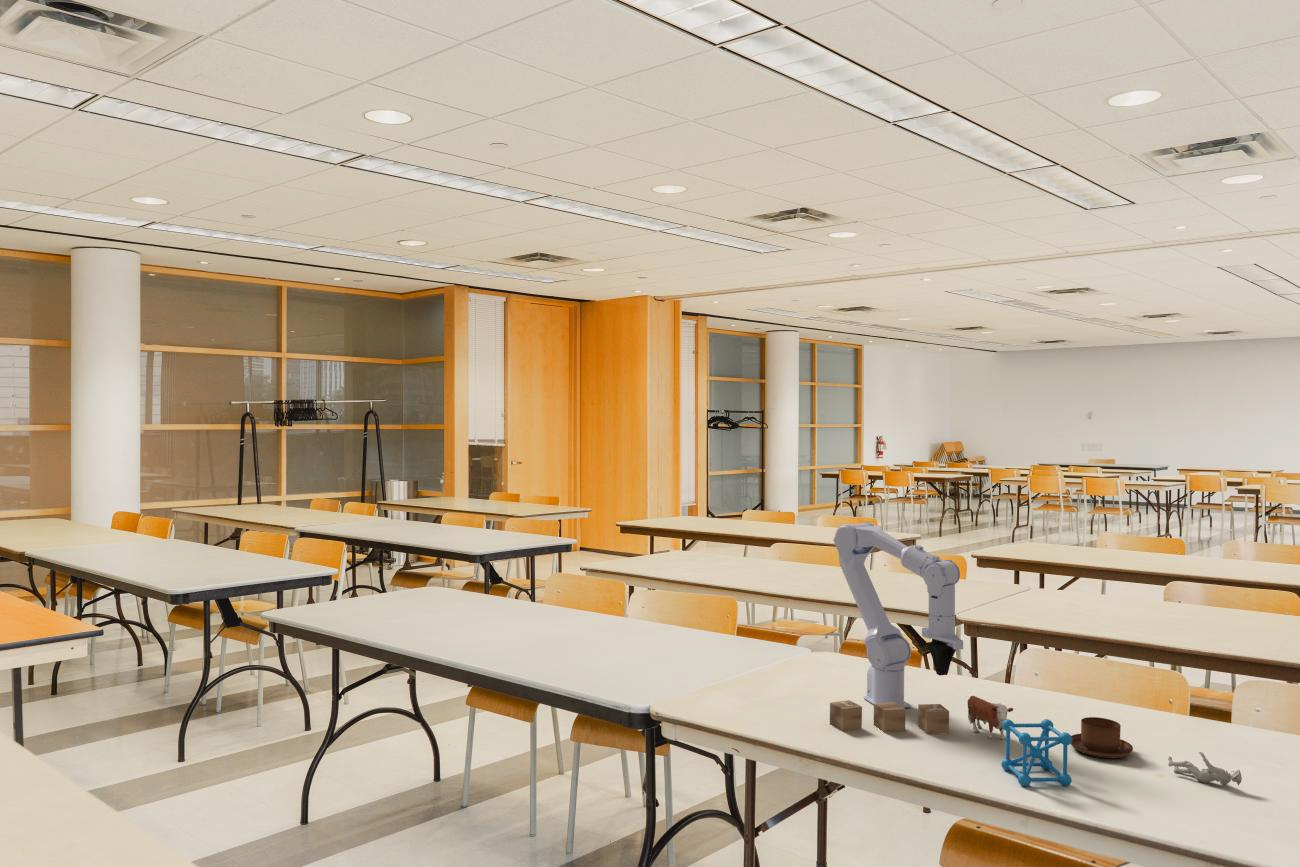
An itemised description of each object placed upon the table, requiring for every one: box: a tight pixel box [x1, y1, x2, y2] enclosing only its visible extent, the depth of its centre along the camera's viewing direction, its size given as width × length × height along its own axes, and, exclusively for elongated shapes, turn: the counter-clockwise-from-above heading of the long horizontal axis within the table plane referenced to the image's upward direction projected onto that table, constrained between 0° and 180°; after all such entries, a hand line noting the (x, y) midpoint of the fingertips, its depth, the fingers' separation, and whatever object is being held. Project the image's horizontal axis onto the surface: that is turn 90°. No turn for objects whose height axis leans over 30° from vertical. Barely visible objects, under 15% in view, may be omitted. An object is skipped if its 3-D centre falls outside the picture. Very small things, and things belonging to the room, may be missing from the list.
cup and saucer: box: [1070, 716, 1134, 759], centre depth 196 cm, size 12×12×6 cm
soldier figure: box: [1167, 751, 1243, 787], centre depth 180 cm, size 8×5×12 cm
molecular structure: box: [1000, 718, 1073, 787], centre depth 181 cm, size 10×10×10 cm
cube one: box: [829, 699, 863, 732], centre depth 210 cm, size 5×5×5 cm
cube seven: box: [917, 703, 950, 735], centre depth 208 cm, size 5×5×5 cm
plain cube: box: [873, 702, 906, 734], centre depth 209 cm, size 5×5×5 cm
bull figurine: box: [967, 695, 1014, 741], centre depth 205 cm, size 4×13×8 cm, turn 16°
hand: (941, 674), depth 215 cm, fingers closed
